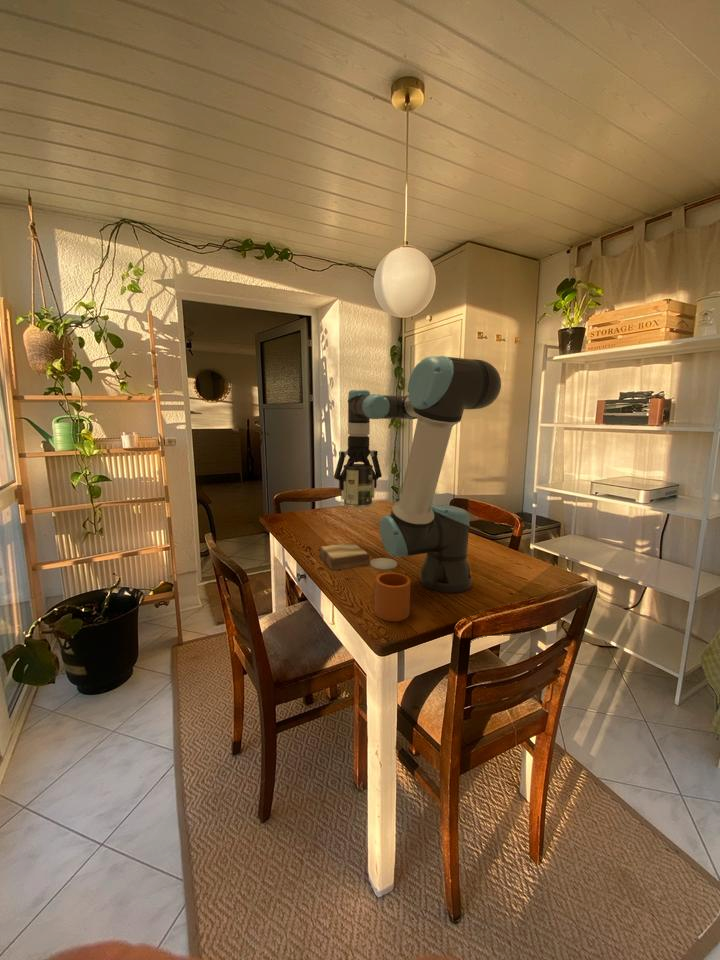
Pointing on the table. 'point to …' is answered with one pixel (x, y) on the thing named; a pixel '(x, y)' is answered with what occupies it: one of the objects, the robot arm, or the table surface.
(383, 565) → the felt coaster
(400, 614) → the mug
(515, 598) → the table surface
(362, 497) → the coffee can
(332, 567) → the block
